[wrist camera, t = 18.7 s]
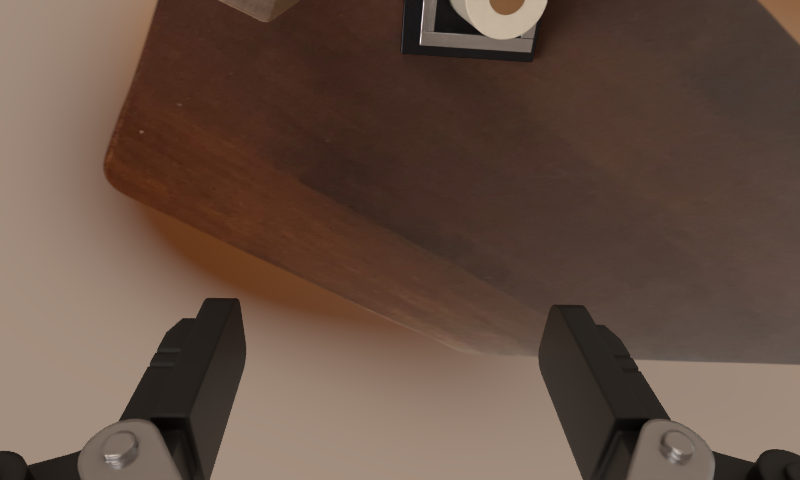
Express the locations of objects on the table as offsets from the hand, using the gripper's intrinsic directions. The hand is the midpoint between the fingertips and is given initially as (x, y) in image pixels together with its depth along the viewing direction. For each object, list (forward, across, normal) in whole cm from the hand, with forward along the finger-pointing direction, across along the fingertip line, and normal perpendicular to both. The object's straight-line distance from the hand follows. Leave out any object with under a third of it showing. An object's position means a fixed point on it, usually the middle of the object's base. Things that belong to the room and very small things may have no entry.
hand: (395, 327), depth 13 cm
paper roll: (+32, -7, -6) cm, 34 cm away
